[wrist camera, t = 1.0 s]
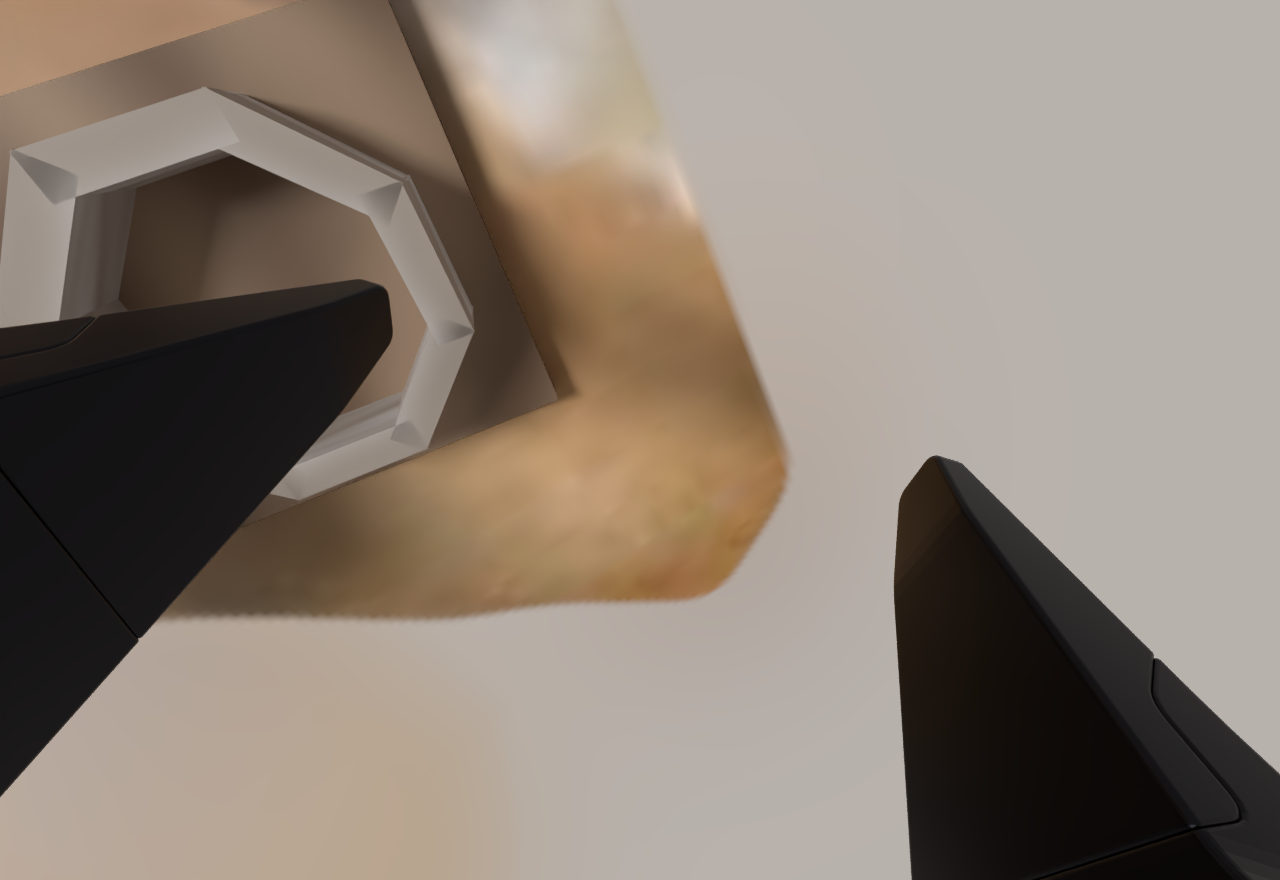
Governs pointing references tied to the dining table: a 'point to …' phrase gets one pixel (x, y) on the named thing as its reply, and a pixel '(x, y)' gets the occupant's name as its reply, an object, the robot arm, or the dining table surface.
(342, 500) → the dining table surface
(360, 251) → the ring holder
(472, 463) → the dining table surface
